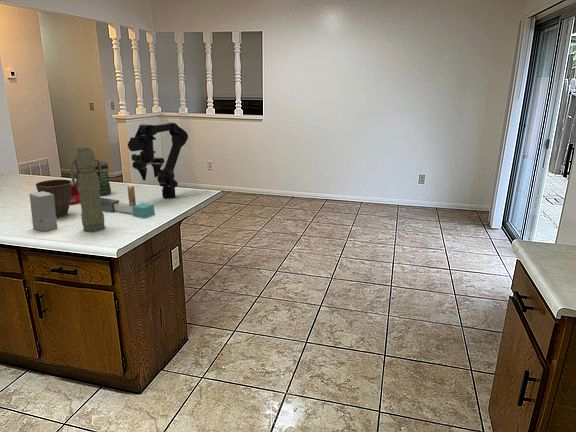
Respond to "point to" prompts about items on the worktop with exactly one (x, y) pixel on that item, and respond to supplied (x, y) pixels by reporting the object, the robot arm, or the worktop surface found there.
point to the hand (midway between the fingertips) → (150, 178)
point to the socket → (143, 210)
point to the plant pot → (58, 194)
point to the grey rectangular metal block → (107, 204)
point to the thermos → (88, 189)
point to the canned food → (74, 195)
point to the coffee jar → (104, 179)
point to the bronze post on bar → (126, 207)
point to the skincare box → (43, 211)
